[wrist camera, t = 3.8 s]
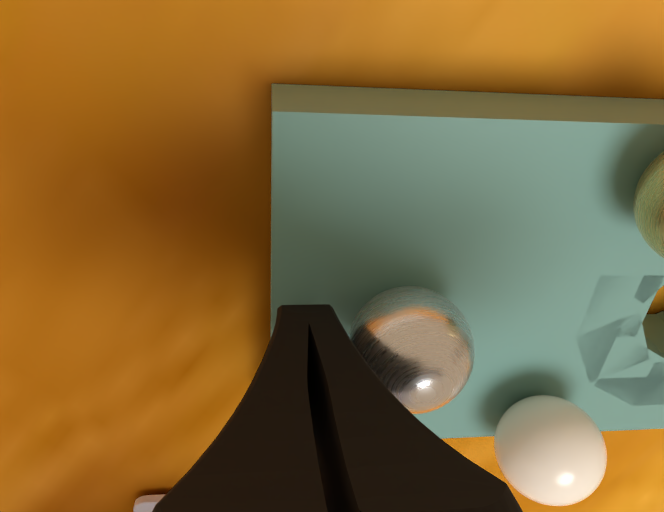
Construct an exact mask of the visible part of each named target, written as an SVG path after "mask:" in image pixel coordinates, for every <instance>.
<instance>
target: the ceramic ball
mask: <svg viewBox="0 0 664 512" xmlns="http://www.w3.org/2000/svg"><path fill="white" fill-rule="evenodd" d="M494 449H495V455H496V459H497V462H498V465H499V467H500V469H501V471H502V473H503V475H504V476H505V478H506V479H507V480H508V482H509V483H510V484H511V485H512V486H513V487H514V488H515V489H516V490H517V491H518V492H520V493H521V494H522V495H524V496H526V497H527V498H529V499H531V500H533V501H536V502H538V503H541V504H545V505H550V506H566V505H571V504H574V503H577V502H580V501H582V500H583V499H585V498H587V497H588V496H589V495H591V494H592V493H593V492H594V491H595V490H596V488H597V487H598V486H599V484H600V482H601V481H602V479H603V476H604V473H605V470H606V464H607V451H606V446H605V442H604V439H603V436H602V434H601V432H600V430H599V428H598V426H597V425H596V423H595V422H594V421H593V420H592V418H591V417H590V416H589V415H588V414H587V413H586V412H585V411H584V410H583V409H581V408H580V407H578V406H577V405H575V404H574V403H572V402H570V401H568V400H565V399H563V398H560V397H556V396H550V395H537V396H530V397H527V398H524V399H522V400H520V401H518V402H516V403H515V404H513V405H512V406H511V407H510V408H509V409H508V410H507V411H506V412H505V413H504V414H503V415H502V417H501V419H500V421H499V423H498V425H497V428H496V432H495V438H494Z"/></svg>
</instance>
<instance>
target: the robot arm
mask: <svg viewBox="0 0 664 512" xmlns="http://www.w3.org/2000/svg"><path fill="white" fill-rule="evenodd" d="M133 512H523V511H522V510H521V508H520V506H519V504H518V502H517V501H516V499H515V497H514V496H513V494H512V492H511V491H510V489H509V487H508V486H507V484H506V483H505V482H503V481H502V480H500V479H498V478H497V477H495V476H494V475H492V474H491V473H489V472H487V471H486V470H484V469H483V468H481V467H479V466H478V465H476V464H475V463H473V462H472V461H470V460H469V459H467V458H466V457H464V456H463V455H462V454H460V453H459V452H457V451H456V450H455V449H453V448H452V447H451V446H449V445H448V444H447V443H445V442H444V441H443V440H442V439H441V438H439V437H438V436H437V435H436V434H435V433H433V432H432V431H431V430H430V429H429V428H427V427H426V426H425V425H424V424H423V423H421V422H420V421H419V420H418V419H417V418H416V417H415V416H414V415H413V414H412V413H411V412H410V411H409V410H408V409H407V408H406V407H405V406H404V405H403V404H402V403H401V402H400V401H399V400H398V399H397V398H396V397H395V396H394V395H393V394H392V393H391V391H390V390H389V389H388V388H387V387H386V386H385V385H384V383H383V382H382V381H381V380H380V379H379V377H378V376H377V375H376V374H375V372H374V371H373V370H372V369H371V367H370V366H369V365H368V363H367V362H366V361H365V359H364V358H363V356H362V355H361V354H360V352H359V351H358V349H357V348H356V346H355V345H354V343H353V342H352V340H351V339H350V337H349V336H348V334H347V332H346V331H345V329H344V327H343V326H342V324H341V322H340V320H339V319H338V317H337V315H336V313H335V311H334V309H333V307H332V306H331V305H330V304H313V305H281V306H280V307H279V308H277V317H276V322H275V326H274V330H273V333H272V336H271V339H270V342H269V345H268V347H267V350H266V352H265V355H264V357H263V360H262V362H261V364H260V366H259V368H258V370H257V372H256V374H255V376H254V378H253V380H252V382H251V384H250V386H249V388H248V390H247V392H246V393H245V395H244V397H243V399H242V400H241V402H240V403H239V405H238V407H237V408H236V410H235V411H234V413H233V415H232V416H231V417H230V419H229V420H228V422H227V423H226V425H225V426H224V428H223V429H222V430H221V432H220V433H219V435H218V436H217V437H216V439H215V440H214V441H213V442H212V444H211V445H210V446H209V447H208V449H207V450H206V451H205V452H204V453H203V455H202V456H201V457H200V458H199V459H198V460H197V462H196V463H195V464H194V465H193V466H192V468H191V469H190V470H189V471H188V472H187V473H186V474H185V475H184V476H183V477H182V479H181V480H180V481H179V482H178V483H177V484H176V485H175V486H174V487H173V488H172V489H171V490H170V491H169V492H168V493H167V494H159V495H145V496H141V497H139V498H137V499H136V500H135V504H134V508H133Z"/></svg>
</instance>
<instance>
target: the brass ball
mask: <svg viewBox="0 0 664 512" xmlns="http://www.w3.org/2000/svg"><path fill="white" fill-rule="evenodd" d="M633 211H634V217H635V222H636V225H637V228H638V230H639V232H640V234H641V235H642V237H643V239H644V240H645V241H646V243H647V244H648V245H649V246H650V247H651V249H653V250H654V251H655V252H656V253H657V254H658V255H660V256H661V257H663V258H664V151H663V152H662V153H661V154H660V155H658V156H657V157H656V158H655V159H654V160H653V161H652V162H651V163H650V165H649V166H648V167H647V168H646V170H645V171H644V173H643V174H642V176H641V178H640V180H639V182H638V184H637V187H636V190H635V195H634V202H633Z"/></svg>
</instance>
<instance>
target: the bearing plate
mask: <svg viewBox="0 0 664 512" xmlns="http://www.w3.org/2000/svg"><path fill="white" fill-rule="evenodd" d="M663 151H664V99H645V98H620V97H595V96H570V95H545V94H520V93H496V92H471V91H446V90H421V89H396V88H371V87H346V86H321V85H297V84H272V94H271V327H270V339H271V336H272V333H273V330H274V326H275V322H276V317H277V308H279V307H280V306H281V305H313V304H330V305H331V306H332V307H333V309H334V311H335V313H336V315H337V317H338V319H339V320H340V322H341V324H342V326H343V327H344V329H345V331H346V332H347V334H348V336H349V332H350V329H351V326H352V323H353V321H354V319H355V317H356V316H357V314H358V312H359V311H360V310H361V308H362V307H363V306H364V305H365V304H366V303H367V302H368V301H370V300H371V299H372V298H373V297H375V296H376V295H378V294H380V293H382V292H384V291H386V290H389V289H392V288H395V287H401V286H417V287H423V288H427V289H430V290H433V291H435V292H437V293H440V294H441V295H443V296H444V297H446V298H447V299H449V300H450V301H451V302H452V303H454V304H455V305H456V306H457V308H458V309H459V310H460V311H461V312H462V314H463V315H464V317H465V318H466V320H467V322H468V324H469V326H470V329H471V332H472V334H473V339H474V346H475V358H474V364H473V369H472V372H471V375H470V377H469V379H468V381H467V383H466V385H465V386H464V388H463V389H462V390H461V392H460V393H459V394H458V395H457V396H456V397H455V398H454V399H453V400H452V401H450V402H449V403H448V404H446V405H444V406H443V407H441V408H439V409H437V410H434V411H431V412H427V413H422V414H413V415H414V416H415V417H416V418H417V419H418V420H419V421H420V422H421V423H423V424H424V425H425V426H426V427H427V428H429V429H430V430H431V431H432V432H433V433H435V434H436V435H437V436H438V437H439V438H461V437H484V436H495V432H496V428H497V425H498V423H499V421H500V419H501V417H502V415H503V414H504V413H505V412H506V411H507V410H508V409H509V408H510V407H511V406H512V405H513V404H515V403H516V402H518V401H520V400H522V399H524V398H527V397H530V396H537V395H550V396H556V397H560V398H563V399H565V400H568V401H570V402H572V403H574V404H575V405H577V406H578V407H580V408H581V409H583V410H584V411H585V412H586V413H587V414H588V415H589V416H590V417H591V418H592V420H593V421H594V422H595V423H596V425H597V426H598V428H599V430H600V431H617V430H640V429H662V428H664V311H662V312H659V313H657V314H647V312H648V309H649V307H650V305H651V303H652V301H653V299H654V297H655V295H656V293H657V291H658V290H659V289H660V288H661V287H662V286H663V285H664V258H663V257H661V256H660V255H658V254H657V253H656V252H655V251H654V250H653V249H651V247H650V246H649V245H648V244H647V243H646V241H645V240H644V239H643V237H642V235H641V234H640V232H639V230H638V228H637V225H636V222H635V217H634V211H633V202H634V195H635V190H636V187H637V184H638V182H639V180H640V178H641V176H642V174H643V173H644V171H645V170H646V168H647V167H648V166H649V165H650V163H651V162H652V161H653V160H654V159H655V158H656V157H657V156H658V155H660V154H661V153H662V152H663Z"/></svg>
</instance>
